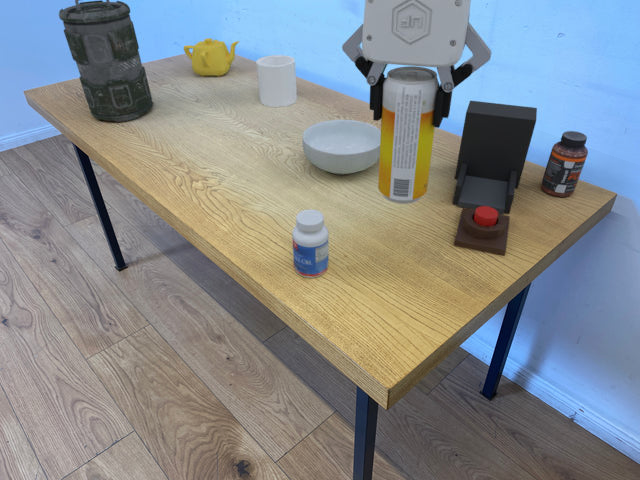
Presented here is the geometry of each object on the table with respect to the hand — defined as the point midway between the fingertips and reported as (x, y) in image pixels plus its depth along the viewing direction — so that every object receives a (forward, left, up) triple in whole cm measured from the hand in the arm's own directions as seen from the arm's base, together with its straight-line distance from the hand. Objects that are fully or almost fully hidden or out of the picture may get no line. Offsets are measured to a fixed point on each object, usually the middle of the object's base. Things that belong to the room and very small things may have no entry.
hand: (408, 118), depth 54 cm
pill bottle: (+13, 0, -27) cm, 30 cm away
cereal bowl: (+19, -33, -27) cm, 47 cm away
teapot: (+77, -78, -27) cm, 113 cm away
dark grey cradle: (-10, -33, -26) cm, 44 cm away
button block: (-11, -18, -26) cm, 34 cm away
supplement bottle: (-23, -37, -27) cm, 51 cm away
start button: (-11, -18, -24) cm, 32 cm away
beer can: (0, 0, -10) cm, 10 cm away
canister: (+84, -43, -27) cm, 98 cm away
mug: (+48, -64, -27) cm, 84 cm away
